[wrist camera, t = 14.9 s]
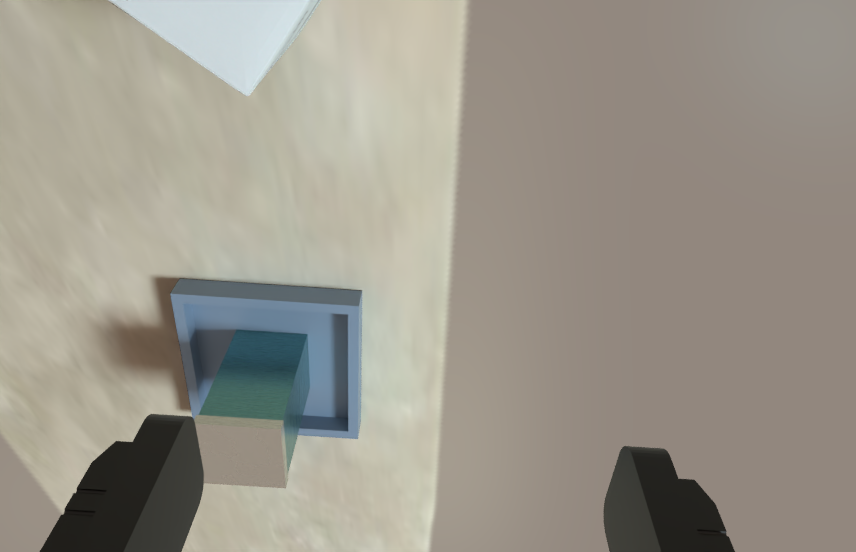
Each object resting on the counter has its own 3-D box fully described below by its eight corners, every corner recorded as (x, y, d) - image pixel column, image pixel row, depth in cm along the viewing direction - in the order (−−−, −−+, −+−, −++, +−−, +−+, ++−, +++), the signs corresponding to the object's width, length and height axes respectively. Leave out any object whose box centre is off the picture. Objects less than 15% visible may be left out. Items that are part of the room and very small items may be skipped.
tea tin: (241, 383, 54) (203, 482, 45) (235, 328, 51) (192, 423, 42) (311, 388, 54) (285, 488, 46) (308, 333, 51) (281, 429, 42)
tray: (202, 411, 56) (194, 428, 55) (179, 278, 49) (170, 293, 47) (360, 421, 57) (357, 438, 55) (362, 290, 49) (359, 306, 48)
